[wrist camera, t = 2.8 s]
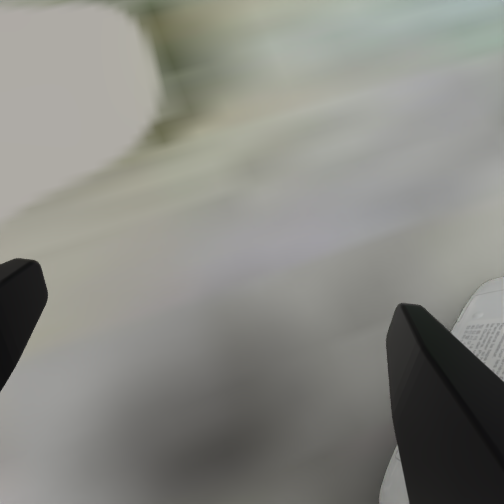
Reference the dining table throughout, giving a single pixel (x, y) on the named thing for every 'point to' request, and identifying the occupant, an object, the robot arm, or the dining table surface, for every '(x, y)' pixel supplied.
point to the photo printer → (480, 344)
